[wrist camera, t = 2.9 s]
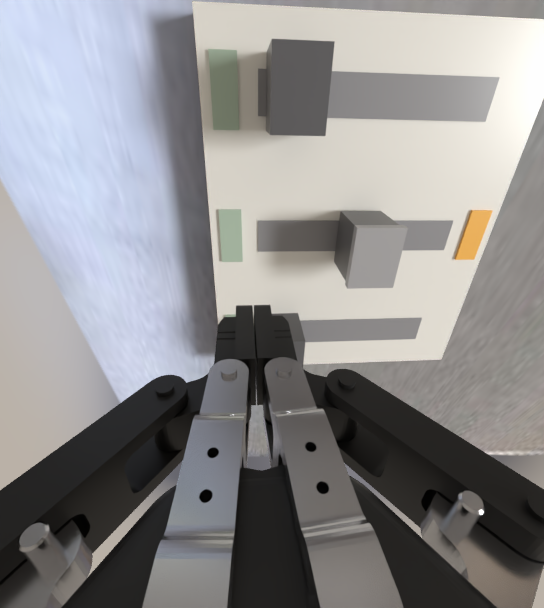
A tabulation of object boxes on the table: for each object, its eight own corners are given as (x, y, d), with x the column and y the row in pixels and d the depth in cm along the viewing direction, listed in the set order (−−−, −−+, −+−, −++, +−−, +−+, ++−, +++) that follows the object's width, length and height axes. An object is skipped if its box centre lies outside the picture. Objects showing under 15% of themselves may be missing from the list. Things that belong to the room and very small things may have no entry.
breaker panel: (540, 29, 21) (647, 1, 15) (428, 344, 34) (464, 389, 29) (198, 13, 19) (179, -26, 14) (222, 350, 33) (218, 399, 27)
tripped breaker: (382, 209, 23) (407, 228, 20) (371, 262, 26) (393, 287, 22) (339, 209, 23) (357, 228, 19) (332, 262, 25) (347, 288, 22)
